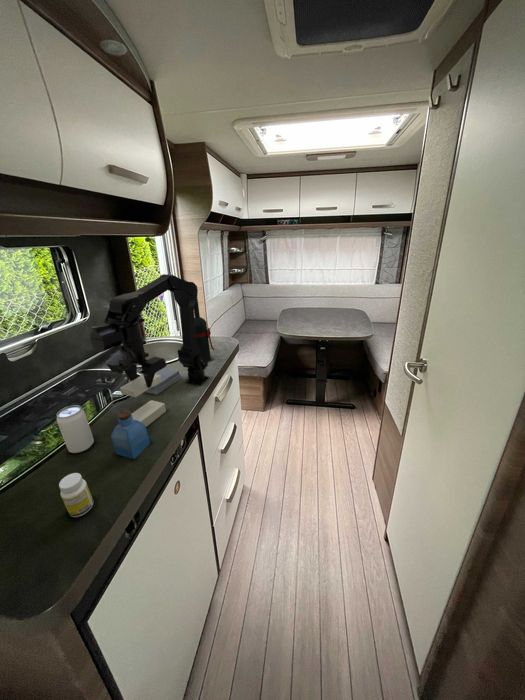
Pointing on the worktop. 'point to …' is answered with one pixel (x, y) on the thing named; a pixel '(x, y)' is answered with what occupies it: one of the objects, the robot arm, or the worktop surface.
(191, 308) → the robot arm
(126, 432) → the perfume bottle
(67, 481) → the supplement bottle
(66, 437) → the can
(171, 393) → the worktop surface
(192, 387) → the worktop surface
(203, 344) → the wine bottle
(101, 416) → the worktop surface
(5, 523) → the worktop surface
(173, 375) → the grey books
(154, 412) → the white books
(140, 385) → the white book
